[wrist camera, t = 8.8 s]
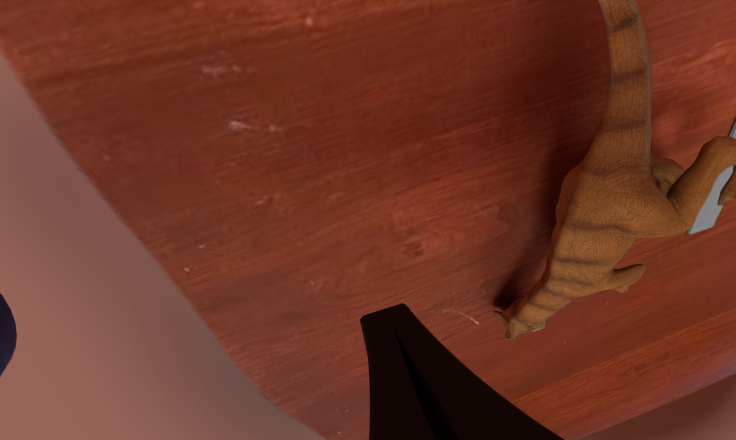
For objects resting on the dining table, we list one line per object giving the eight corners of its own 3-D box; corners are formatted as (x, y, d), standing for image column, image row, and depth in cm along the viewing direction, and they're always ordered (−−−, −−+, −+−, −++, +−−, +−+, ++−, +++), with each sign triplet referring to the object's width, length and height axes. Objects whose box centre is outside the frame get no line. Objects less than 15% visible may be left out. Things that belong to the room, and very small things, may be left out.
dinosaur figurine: (603, 289, 27) (448, 330, 24) (765, -138, 14) (485, -131, 12) (695, 369, 21) (505, 430, 19) (1085, -214, 9) (676, -226, 7)
